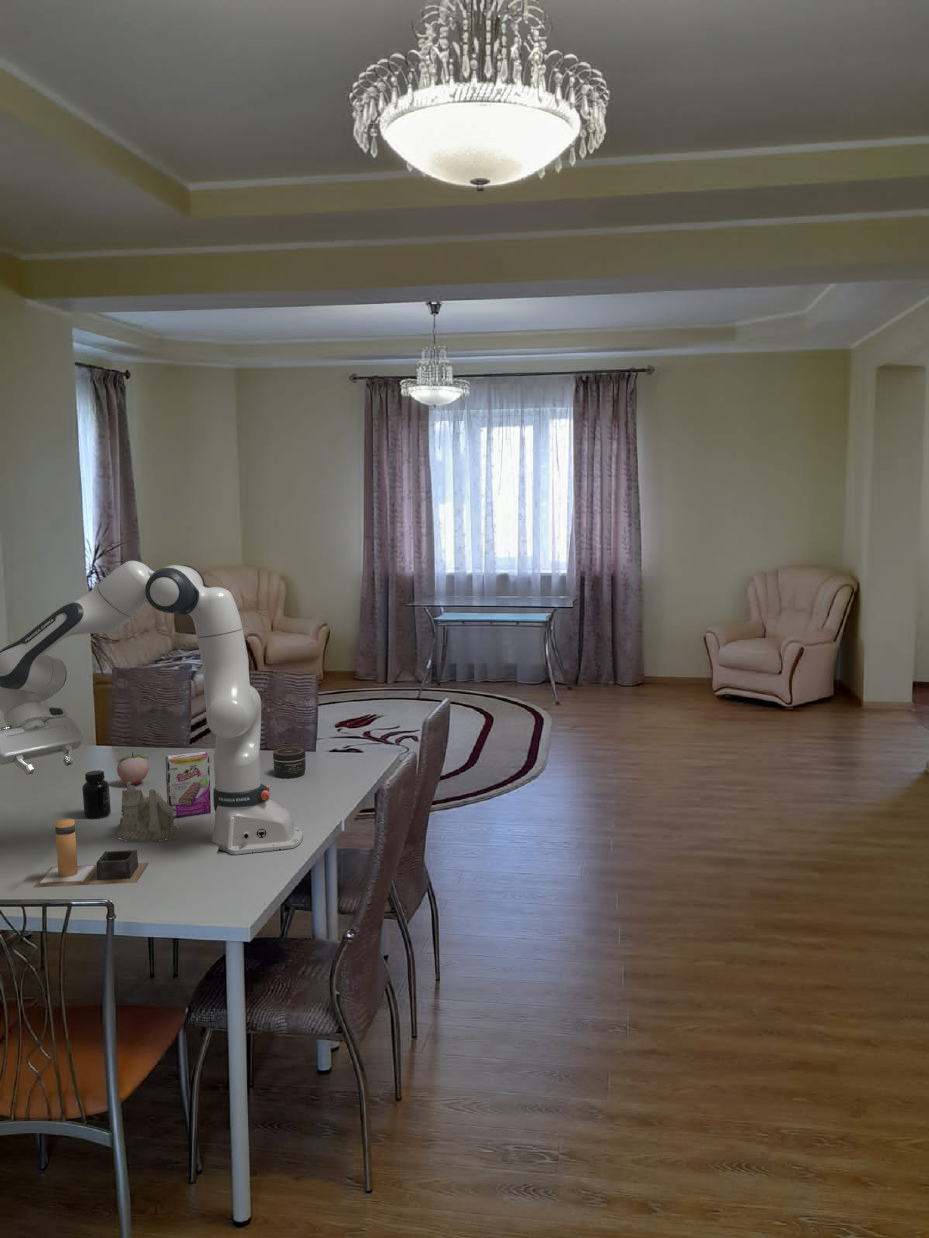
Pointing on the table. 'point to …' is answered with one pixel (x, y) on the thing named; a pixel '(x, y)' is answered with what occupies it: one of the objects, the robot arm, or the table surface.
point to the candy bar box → (188, 784)
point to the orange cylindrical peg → (66, 847)
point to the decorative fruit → (133, 768)
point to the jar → (289, 762)
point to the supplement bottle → (96, 795)
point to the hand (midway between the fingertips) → (50, 768)
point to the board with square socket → (100, 871)
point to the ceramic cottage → (145, 816)
